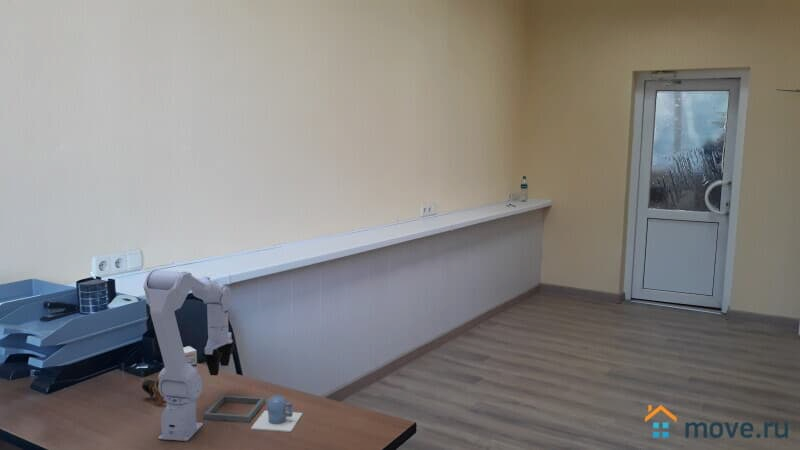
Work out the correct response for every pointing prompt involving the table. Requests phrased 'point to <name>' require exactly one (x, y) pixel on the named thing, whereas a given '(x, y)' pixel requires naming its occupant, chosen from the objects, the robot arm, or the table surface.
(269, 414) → the blue-grey mug
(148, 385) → the brown animal figurine
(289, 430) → the mat
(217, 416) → the grey square frame
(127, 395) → the table surface
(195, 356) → the ink box
